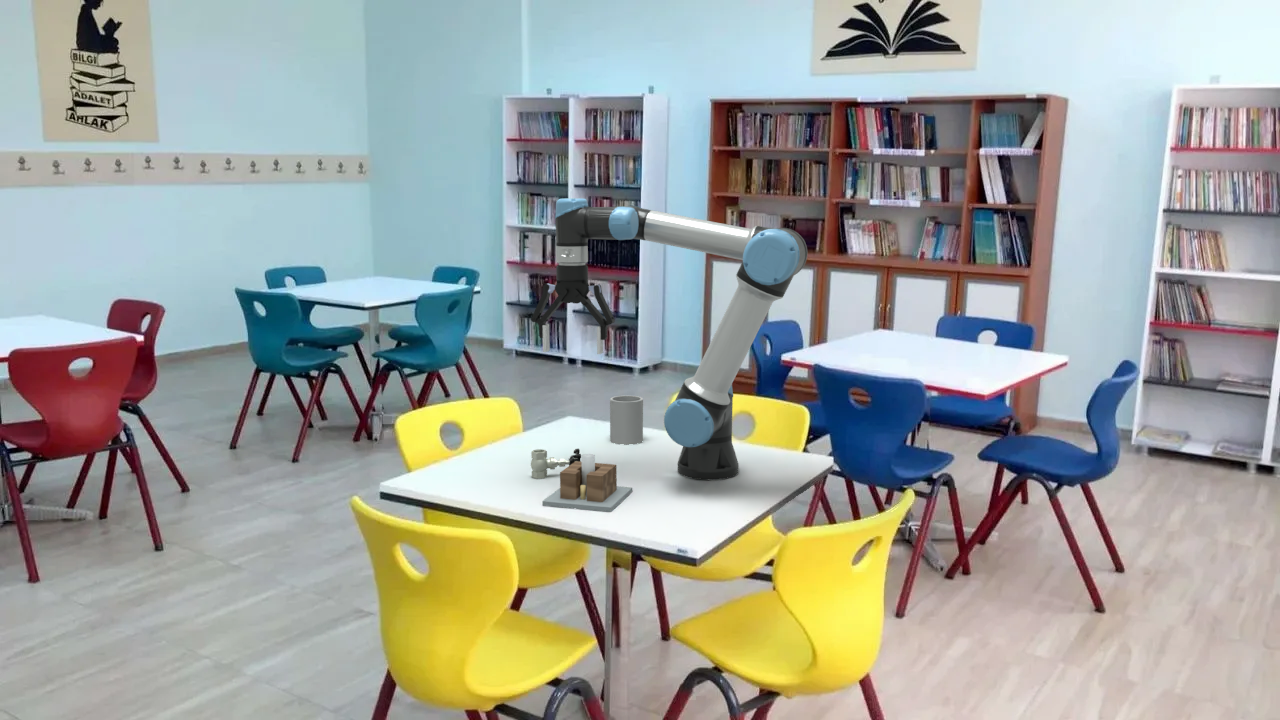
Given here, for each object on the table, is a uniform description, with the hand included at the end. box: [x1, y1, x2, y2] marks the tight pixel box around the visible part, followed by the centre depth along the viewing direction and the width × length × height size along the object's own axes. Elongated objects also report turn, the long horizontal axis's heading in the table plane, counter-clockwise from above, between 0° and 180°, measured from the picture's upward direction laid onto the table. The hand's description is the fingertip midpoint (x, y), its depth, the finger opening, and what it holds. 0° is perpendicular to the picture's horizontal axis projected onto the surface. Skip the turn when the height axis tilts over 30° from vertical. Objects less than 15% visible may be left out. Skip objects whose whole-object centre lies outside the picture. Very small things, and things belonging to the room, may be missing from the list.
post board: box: [541, 453, 634, 513], centre depth 234 cm, size 16×16×10 cm
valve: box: [530, 448, 582, 480], centre depth 252 cm, size 7×7×12 cm
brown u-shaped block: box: [559, 461, 618, 502], centre depth 234 cm, size 10×10×6 cm
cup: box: [609, 395, 644, 446], centre depth 287 cm, size 9×9×12 cm
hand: (573, 352), depth 248 cm, fingers open, 13 cm apart
